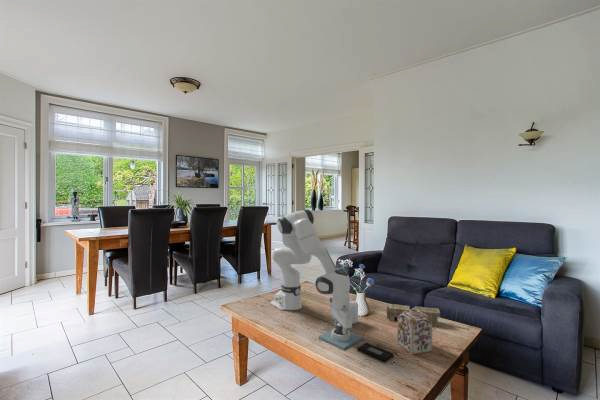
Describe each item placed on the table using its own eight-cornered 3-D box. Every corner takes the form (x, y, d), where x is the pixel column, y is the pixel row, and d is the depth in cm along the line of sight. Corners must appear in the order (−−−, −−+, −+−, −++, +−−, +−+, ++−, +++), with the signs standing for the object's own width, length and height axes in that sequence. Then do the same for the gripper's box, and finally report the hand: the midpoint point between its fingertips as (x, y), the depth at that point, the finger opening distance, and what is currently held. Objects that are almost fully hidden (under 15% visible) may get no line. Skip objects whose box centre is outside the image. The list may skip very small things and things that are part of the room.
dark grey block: (333, 336, 153) (333, 324, 153) (340, 333, 156) (340, 321, 156) (340, 339, 149) (340, 327, 149) (347, 336, 152) (347, 324, 152)
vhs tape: (366, 346, 146) (366, 342, 146) (393, 357, 135) (393, 353, 135) (357, 351, 141) (357, 347, 141) (384, 364, 130) (384, 359, 130)
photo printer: (353, 319, 176) (354, 298, 176) (359, 322, 172) (359, 301, 172) (340, 323, 170) (340, 302, 170) (345, 326, 167) (346, 304, 167)
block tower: (386, 322, 176) (440, 327, 167) (386, 307, 176) (440, 312, 167) (386, 316, 183) (438, 321, 175) (386, 303, 183) (438, 307, 175)
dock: (318, 338, 152) (318, 331, 152) (338, 328, 164) (338, 322, 164) (343, 349, 141) (343, 342, 141) (362, 338, 152) (362, 332, 152)
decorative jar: (411, 355, 137) (411, 316, 137) (396, 343, 148) (396, 307, 148) (433, 351, 140) (433, 313, 140) (416, 340, 151) (417, 304, 151)
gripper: (355, 309, 143) (355, 338, 143) (339, 295, 163) (338, 321, 163) (343, 310, 141) (342, 339, 141) (328, 296, 161) (327, 322, 161)
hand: (340, 329), depth 152 cm, fingers open, 8 cm apart
